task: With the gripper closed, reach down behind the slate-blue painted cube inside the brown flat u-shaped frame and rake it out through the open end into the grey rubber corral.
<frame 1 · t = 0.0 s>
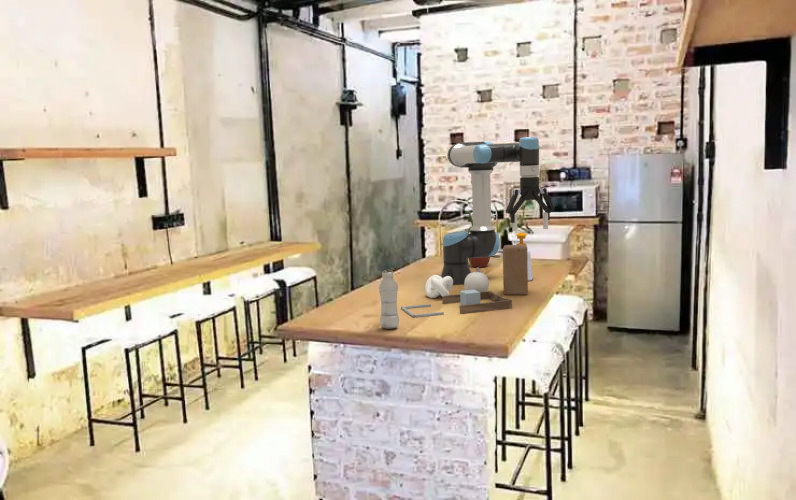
hand: (530, 230, 261), 28 cm above the table, fingers open, 13 cm apart
brown flat u-shaped frame: (476, 305, 256), on the table
ornament: (477, 296, 275), on the table
plastic bottle: (389, 328, 227), on the table
soap bottle: (522, 279, 309), on the table
wooden block: (515, 293, 277), on the table
cube: (470, 306, 256), on the table
white lobed knot: (440, 298, 275), on the table
potted plant: (474, 266, 348), on the table
corral: (421, 311, 250), on the table
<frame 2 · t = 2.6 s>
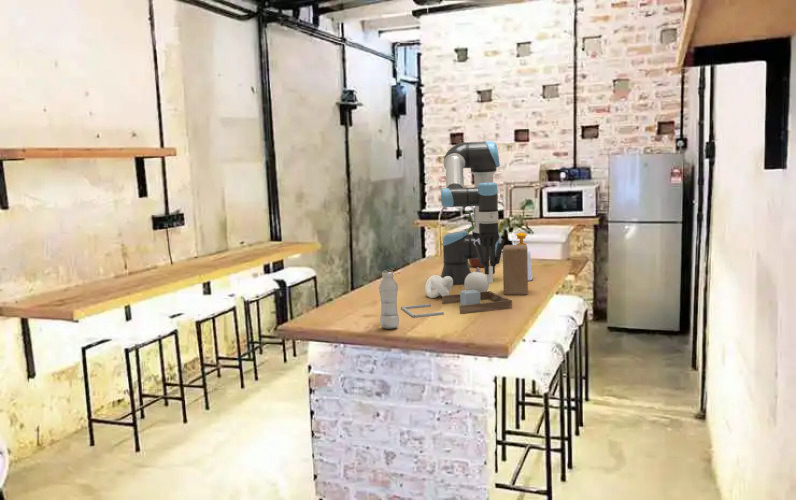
hand: (489, 282, 257), 9 cm above the table, fingers closed
nothing on the table moved.
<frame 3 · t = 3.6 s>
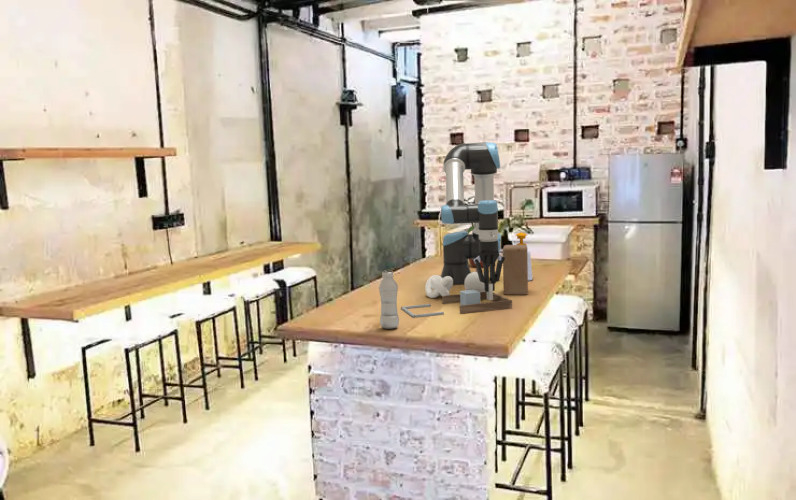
hand: (489, 299, 258), 2 cm above the table, fingers closed
nothing on the table moved.
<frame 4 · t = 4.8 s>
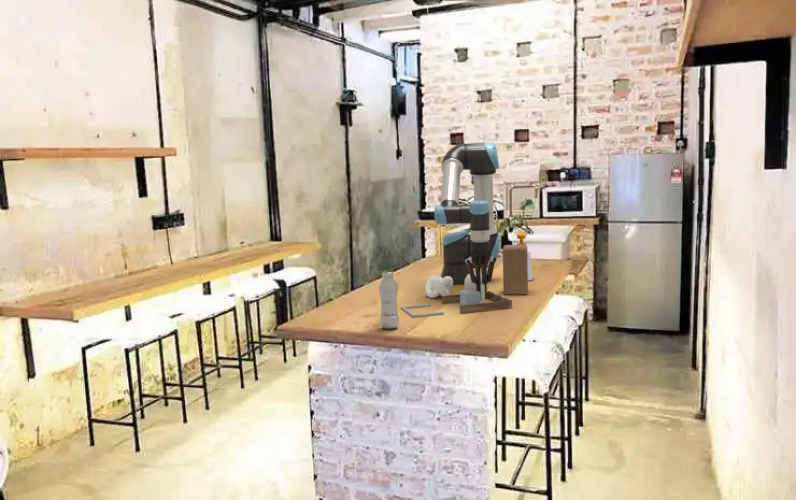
hand: (481, 300, 257), 2 cm above the table, fingers closed
cube: (470, 306, 256), on the table, touching gripper
everything else where it was.
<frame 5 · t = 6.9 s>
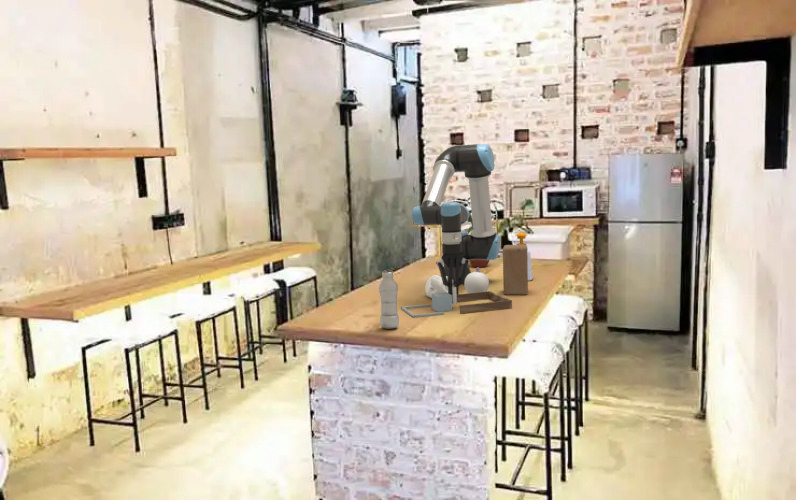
hand: (453, 303, 254), 2 cm above the table, fingers closed
cube: (442, 309, 252), on the table, touching gripper
everything else where it was.
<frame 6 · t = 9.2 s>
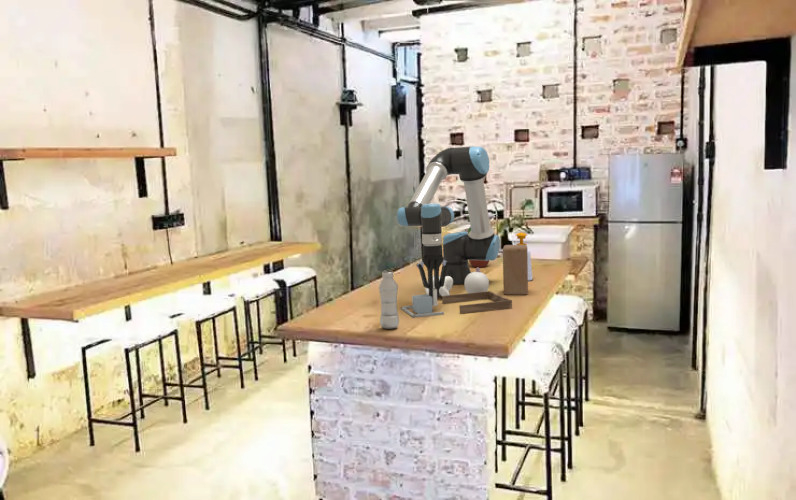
hand: (434, 305, 251), 2 cm above the table, fingers closed
cube: (422, 311, 250), on the table, touching gripper
everything else where it was.
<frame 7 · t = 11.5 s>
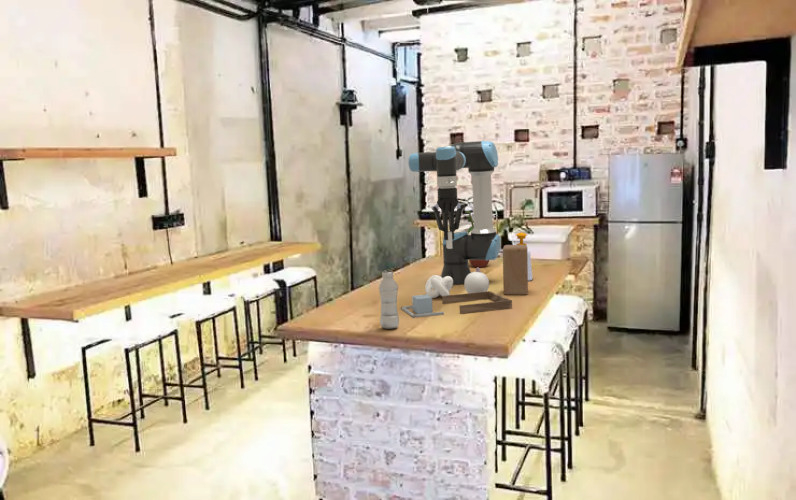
hand: (449, 248, 254), 23 cm above the table, fingers closed
cube: (422, 312, 250), on the table
everything else where it was.
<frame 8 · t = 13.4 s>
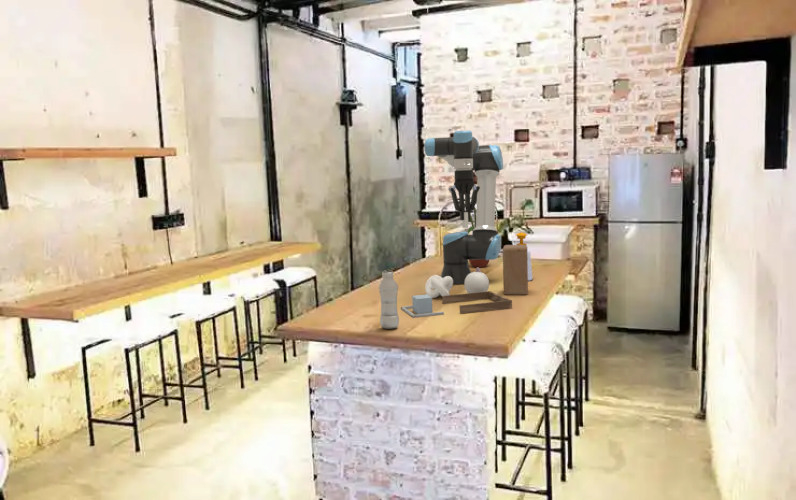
hand: (465, 228, 265), 29 cm above the table, fingers closed
nothing on the table moved.
at the end: cube inside the target area on the corral (0.4 cm from its centre), point 0.0 cm above the corral's base; cube moved 19.9 cm from its start; cube touching table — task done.
